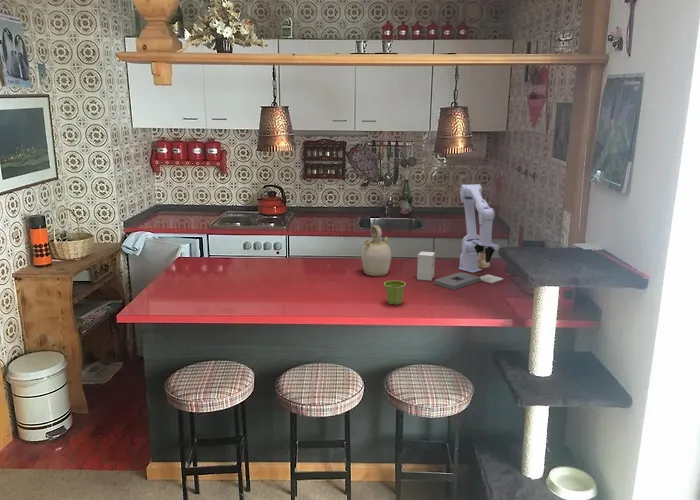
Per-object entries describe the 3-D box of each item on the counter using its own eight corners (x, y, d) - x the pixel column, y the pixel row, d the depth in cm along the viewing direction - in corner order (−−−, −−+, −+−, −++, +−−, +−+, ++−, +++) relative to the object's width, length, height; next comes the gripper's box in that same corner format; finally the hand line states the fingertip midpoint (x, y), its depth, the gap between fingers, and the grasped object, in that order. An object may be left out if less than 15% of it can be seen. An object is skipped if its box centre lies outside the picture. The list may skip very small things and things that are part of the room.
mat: (476, 279, 288) (476, 277, 288) (487, 275, 294) (488, 274, 294) (491, 283, 282) (491, 282, 282) (503, 279, 287) (503, 278, 287)
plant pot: (379, 301, 258) (379, 282, 256) (397, 297, 263) (397, 279, 260) (391, 307, 250) (391, 288, 248) (409, 303, 255) (409, 284, 253)
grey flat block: (433, 283, 281) (434, 279, 281) (460, 275, 294) (461, 271, 293) (453, 290, 272) (453, 285, 272) (480, 281, 285) (480, 277, 284)
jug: (365, 278, 291) (365, 228, 285) (357, 269, 306) (357, 222, 299) (395, 275, 294) (395, 227, 288) (386, 267, 309) (386, 220, 303)
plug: (477, 266, 285) (478, 252, 283) (482, 264, 288) (483, 251, 286) (484, 268, 282) (484, 254, 280) (489, 266, 285) (490, 252, 283)
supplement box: (431, 281, 286) (432, 255, 283) (416, 279, 288) (417, 254, 285) (434, 276, 293) (435, 252, 289) (419, 275, 295) (420, 251, 292)
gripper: (468, 232, 284) (466, 259, 287) (492, 237, 273) (491, 265, 277) (477, 230, 288) (476, 256, 292) (502, 235, 277) (500, 263, 281)
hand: (484, 261), depth 284 cm, fingers closed on plug, 4 cm apart
